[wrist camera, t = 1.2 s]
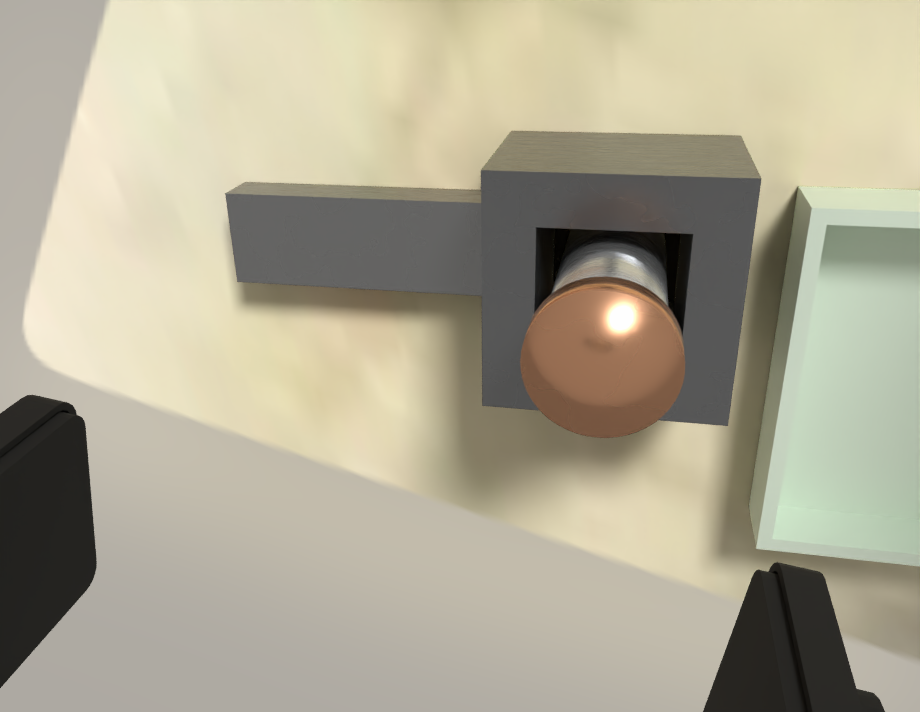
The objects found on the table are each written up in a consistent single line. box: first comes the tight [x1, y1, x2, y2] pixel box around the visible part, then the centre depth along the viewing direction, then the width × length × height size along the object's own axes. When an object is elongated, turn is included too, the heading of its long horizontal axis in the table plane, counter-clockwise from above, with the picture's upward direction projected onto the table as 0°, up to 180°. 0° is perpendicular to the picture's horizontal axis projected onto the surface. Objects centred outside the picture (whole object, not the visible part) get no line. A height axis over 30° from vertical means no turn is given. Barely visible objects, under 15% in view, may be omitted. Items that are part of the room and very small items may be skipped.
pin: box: [520, 229, 685, 438], centre depth 30 cm, size 5×5×12 cm
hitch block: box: [225, 131, 761, 426], centre depth 34 cm, size 21×9×7 cm, turn 91°
